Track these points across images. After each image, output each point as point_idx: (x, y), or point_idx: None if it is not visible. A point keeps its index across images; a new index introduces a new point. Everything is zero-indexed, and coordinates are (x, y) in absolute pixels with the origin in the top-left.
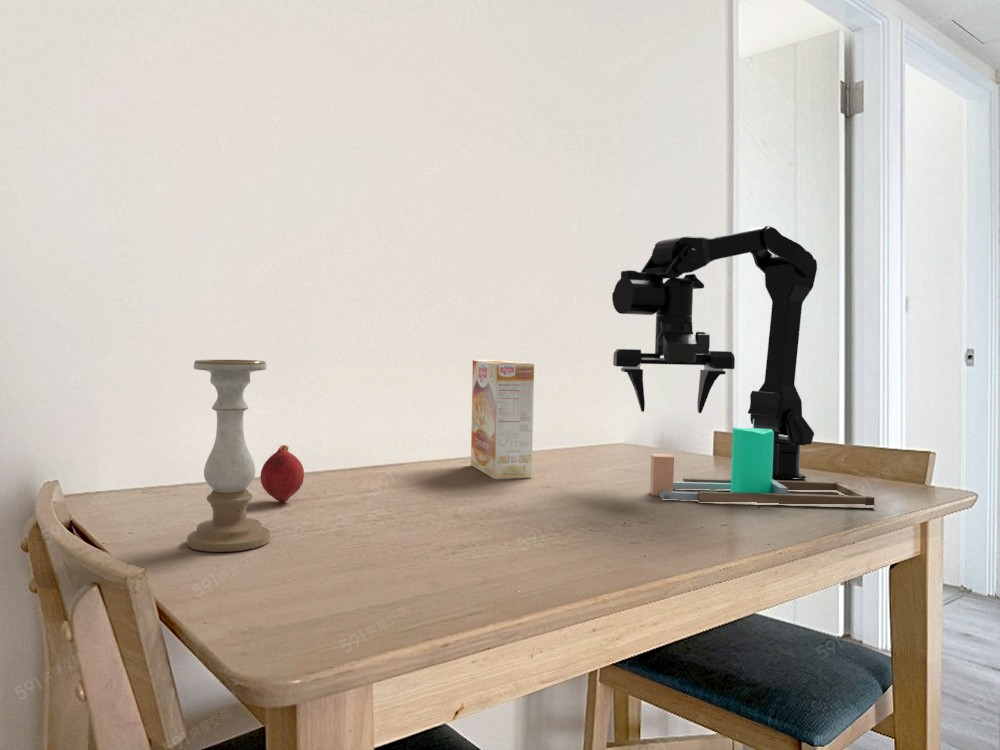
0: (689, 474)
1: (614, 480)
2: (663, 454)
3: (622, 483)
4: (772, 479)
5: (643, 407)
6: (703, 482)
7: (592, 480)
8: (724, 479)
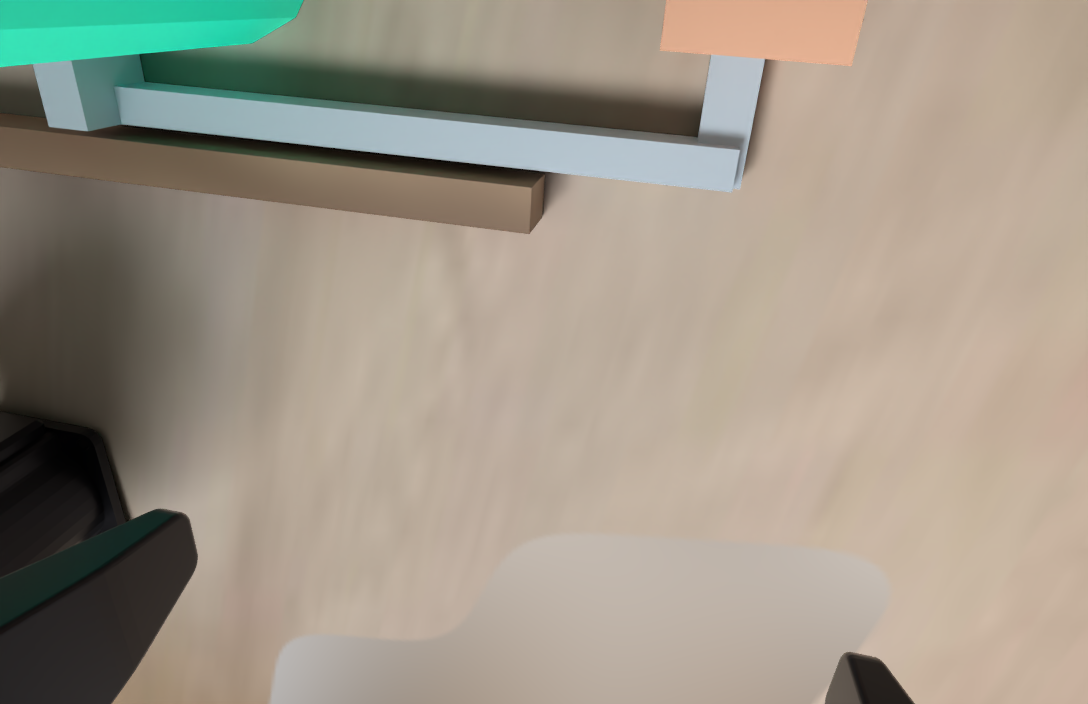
0: (426, 551)
1: (885, 429)
2: (735, 35)
3: (872, 343)
4: None
5: (875, 689)
6: (426, 156)
7: (1033, 433)
8: (297, 185)
